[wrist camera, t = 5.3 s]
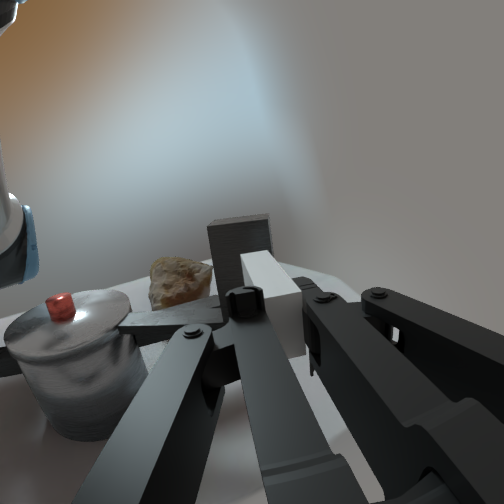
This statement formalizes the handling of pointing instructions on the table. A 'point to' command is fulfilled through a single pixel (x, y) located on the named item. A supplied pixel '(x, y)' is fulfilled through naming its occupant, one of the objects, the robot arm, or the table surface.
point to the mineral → (178, 282)
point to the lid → (119, 309)
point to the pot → (92, 381)
